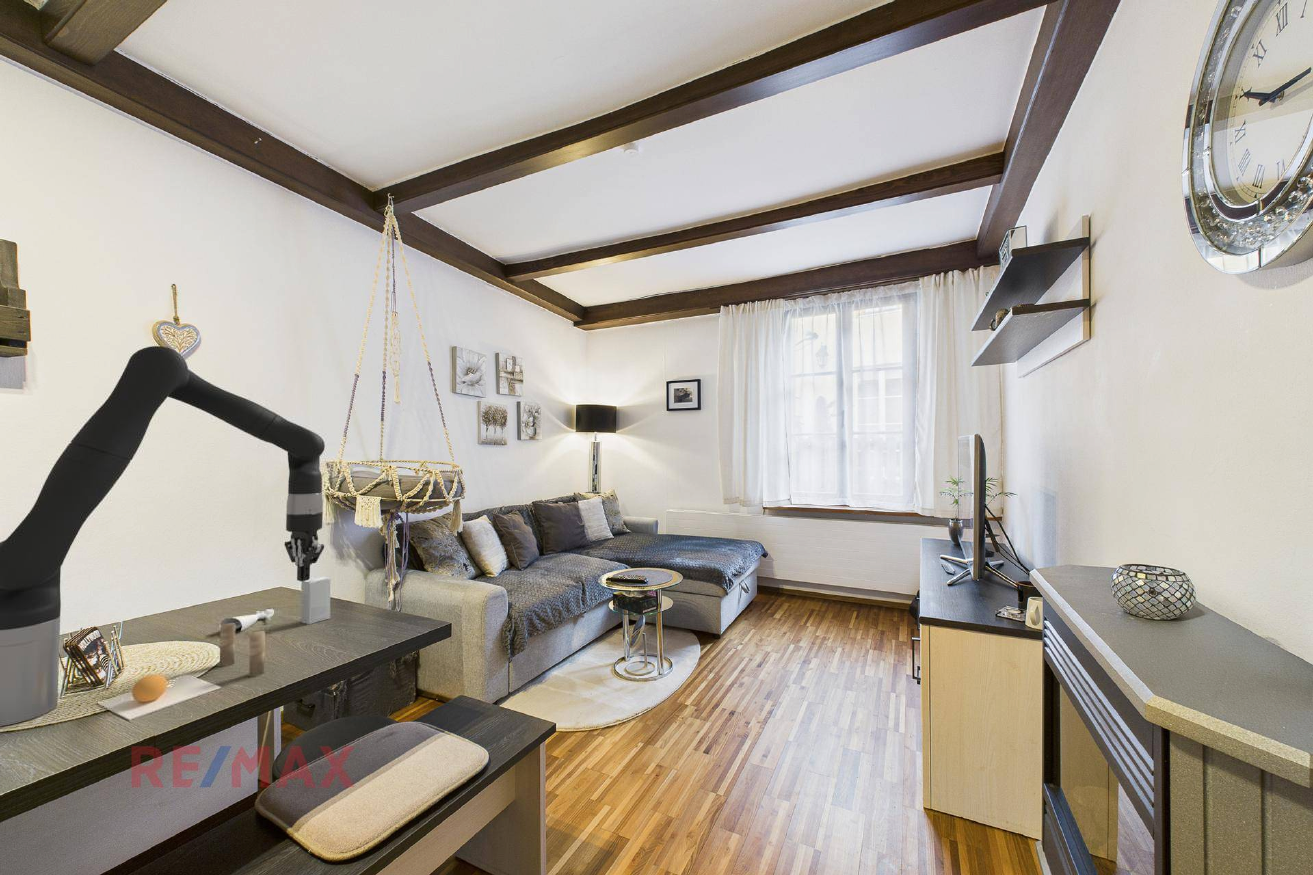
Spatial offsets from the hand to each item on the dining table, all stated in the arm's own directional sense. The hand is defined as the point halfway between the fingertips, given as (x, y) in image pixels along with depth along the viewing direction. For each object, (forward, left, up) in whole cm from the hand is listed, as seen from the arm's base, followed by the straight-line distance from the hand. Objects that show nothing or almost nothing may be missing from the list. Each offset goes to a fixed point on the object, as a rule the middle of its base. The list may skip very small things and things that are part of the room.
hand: (303, 580), depth 127 cm
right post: (-13, -6, -17) cm, 22 cm away
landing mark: (-27, 0, -17) cm, 32 cm away
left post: (-13, +6, -17) cm, 22 cm away
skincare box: (+14, +18, -17) cm, 29 cm away
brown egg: (-29, -1, -14) cm, 32 cm away
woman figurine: (+4, +32, -18) cm, 36 cm away
